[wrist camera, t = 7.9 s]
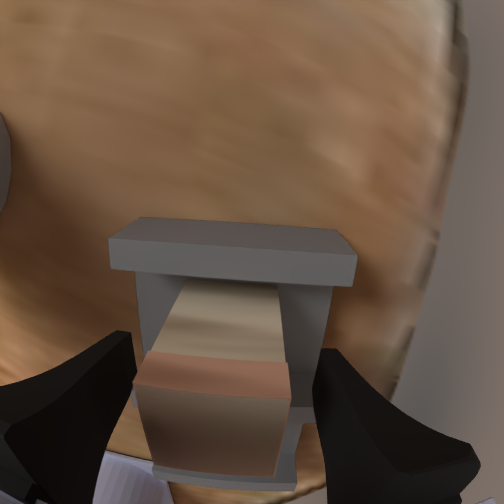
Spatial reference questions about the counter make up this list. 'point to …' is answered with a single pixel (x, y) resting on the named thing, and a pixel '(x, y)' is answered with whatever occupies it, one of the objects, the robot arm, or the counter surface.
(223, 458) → the peg
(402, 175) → the counter surface
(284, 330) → the gray i-beam stand
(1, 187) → the cup
